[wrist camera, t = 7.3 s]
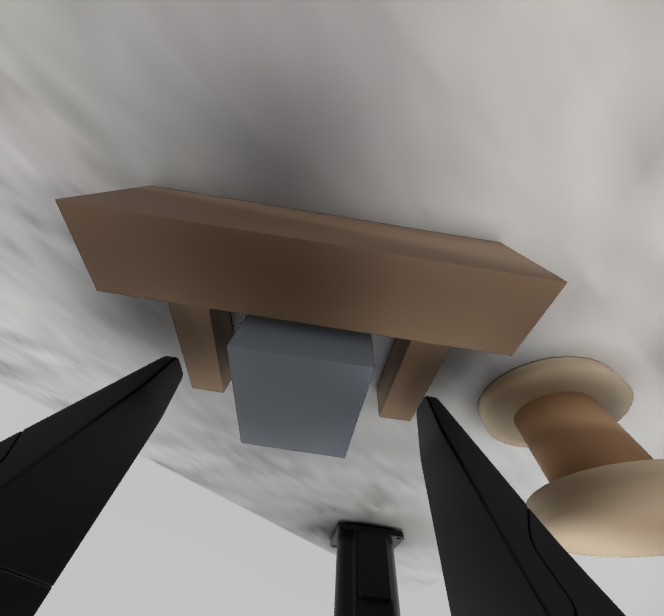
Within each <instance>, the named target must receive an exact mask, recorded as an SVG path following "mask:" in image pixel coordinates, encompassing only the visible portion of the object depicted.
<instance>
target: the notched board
mask: <svg viewBox="0 0 664 616" xmlns="http://www.w3.org/2000/svg"><path fill="white" fill-rule="evenodd" d="M55 201H56V203H57V205H58V207H59V209H60V211H61V214H62V216H63V218H64V220H65V222H66V224H67V227H68V229H69V231H70V233H71V235H72V237H73V240H74V242H75V244H76V246H77V248H78V250H79V253H80V255H81V257H82V259H83V261H84V263H85V266H86V268H87V270H88V272H89V274H90V276H91V279H92V281H93V283H94V285H95V287H96V289H97V291H102V292H109V293H115V294H121V295H128V296H134V297H140V298H147V299H153V300H159V301H166V302H168V304H169V308H170V311H171V315H172V318H173V322H174V325H175V329H176V332H177V336H178V339H179V343H180V346H181V350H182V353H183V357H184V360H185V364H186V368H187V371H188V375H189V378H190V382H191V385H192V388H196V389H203V390H209V391H216V392H222V393H224V391H225V389H226V387H227V386H228V384H229V382H230V380H231V378H232V377H231V370H230V364H229V357H228V350H227V345H228V343H229V342H230V340H231V339H232V337H233V333H232V325H231V316H230V312H236V313H242V314H248V315H255V316H261V317H268V318H274V319H280V320H287V321H293V322H299V323H306V324H312V325H318V326H325V327H331V328H337V329H344V330H350V331H357V332H363V333H369V334H376V335H382V336H388V337H395V338H396V340H395V343H394V345H393V348H392V351H391V353H390V356H389V359H388V361H387V364H386V367H385V369H384V372H383V375H382V377H381V380H380V383H379V385H378V388H377V400H378V410H379V417H385V418H392V419H398V420H405V421H410V420H411V419H412V417H413V415H414V413H415V411H416V410H417V408H418V406H419V404H420V402H421V401H422V399H423V397H424V395H425V393H426V392H427V390H428V388H429V386H430V384H431V383H432V381H433V379H434V377H435V375H436V374H437V372H438V370H439V368H440V366H441V365H442V363H443V361H444V359H445V357H446V356H447V354H448V352H449V350H450V348H451V347H458V348H465V349H471V350H477V351H484V352H490V353H496V354H503V355H509V356H512V355H513V353H514V352H515V351H516V349H517V348H518V347H519V345H520V344H521V343H522V341H523V340H524V339H525V338H526V336H527V335H528V334H529V332H530V331H531V330H532V328H533V327H534V326H535V324H536V323H537V322H538V320H539V319H540V318H541V317H542V315H543V314H544V313H545V311H546V310H547V309H548V307H549V306H550V305H551V303H552V302H553V301H554V299H555V298H556V297H557V296H558V294H559V293H560V292H561V290H562V289H563V288H564V286H565V285H566V284H567V282H566V281H565V280H563V279H561V278H560V277H558V276H556V275H555V274H553V273H551V272H549V271H548V270H546V269H544V268H543V267H541V266H539V265H538V264H536V263H534V262H532V261H531V260H529V259H527V258H526V257H524V256H522V255H521V254H519V253H517V252H515V251H514V250H512V249H510V248H509V247H507V246H505V245H504V244H502V243H499V242H492V241H486V240H480V239H474V238H468V237H462V236H455V235H449V234H443V233H437V232H431V231H425V230H419V229H412V228H406V227H400V226H394V225H388V224H382V223H375V222H369V221H363V220H357V219H351V218H345V217H339V216H332V215H326V214H320V213H314V212H308V211H302V210H296V209H289V208H283V207H277V206H271V205H265V204H259V203H252V202H246V201H240V200H234V199H228V198H222V197H216V196H209V195H203V194H197V193H191V192H185V191H179V190H172V189H166V188H160V187H154V186H145V187H138V188H131V189H124V190H117V191H110V192H104V193H97V194H90V195H83V196H76V197H69V198H62V199H55Z"/></svg>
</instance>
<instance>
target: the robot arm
mask: <svg viewBox="0 0 664 616" xmlns="http://www.w3.org/2000/svg"><path fill="white" fill-rule="evenodd" d="M182 376H183V372H182V368H181V365H180V362H179V359H178V358H176V357H171V356H164V357H162V358H160V359H158V360H156V361H154V362H152V363H150V364H148V365H147V366H145V367H143V368H141V369H139V370H137V371H135V372H133V373H131V374H129V375H127V376H126V377H124V378H122V379H120V380H118V381H116V382H114V383H112V384H110V385H108V386H106V387H105V388H103V389H101V390H99V391H97V392H95V393H93V394H91V395H89V396H87V397H85V398H84V399H82V400H80V401H78V402H76V403H74V404H72V405H70V406H68V407H66V408H64V409H62V410H61V411H59V412H57V413H55V414H53V415H51V416H49V417H47V418H45V419H43V420H42V421H40V422H38V423H36V424H34V425H32V426H30V427H28V428H26V429H25V430H24V431H23V432H19V433H16V434H15V435H13V436H11V437H9V438H7V439H5V440H3V441H1V442H0V616H34V615H35V613H36V611H37V610H38V608H39V607H40V605H41V604H42V602H43V601H44V599H45V598H46V596H47V594H48V593H49V591H50V590H51V588H52V587H51V586H53V585H54V583H55V582H56V580H57V579H58V577H59V576H60V574H61V572H62V571H63V569H64V568H65V566H66V564H67V563H68V562H69V560H70V559H71V557H72V556H73V554H74V552H75V551H76V549H77V548H78V546H79V545H80V543H81V542H82V540H83V539H84V537H85V535H86V534H87V532H88V531H89V529H90V528H91V526H92V525H93V523H94V522H95V520H96V518H97V517H98V515H99V514H100V512H101V511H102V509H103V508H104V506H105V505H106V503H107V501H108V500H109V498H110V497H111V495H112V494H113V492H114V491H115V489H116V488H117V486H118V485H119V483H120V482H121V480H122V478H123V477H124V475H125V474H126V472H127V471H128V469H129V468H130V466H131V465H132V463H133V462H134V460H135V458H136V457H137V455H138V454H139V452H140V451H141V449H142V448H143V446H144V445H145V443H146V442H147V440H148V438H149V437H150V435H151V434H152V432H153V431H154V429H155V428H156V426H157V424H158V423H159V421H160V420H161V418H162V416H163V414H164V412H165V410H166V409H167V407H168V405H169V403H170V401H171V399H172V397H173V395H174V393H175V391H176V389H177V387H178V385H179V383H180V381H181V379H182ZM417 425H418V436H419V447H420V457H421V463H422V469H423V474H424V479H425V484H426V489H427V494H428V499H429V504H430V510H431V515H432V520H433V525H434V530H435V535H436V540H437V545H438V550H439V555H440V560H441V566H442V571H443V576H444V581H445V586H446V591H447V596H448V601H449V606H450V611H451V616H625V614H624V613H623V612H622V611H621V610H620V609H619V608H618V607H617V606H616V605H615V604H614V603H613V602H612V600H611V599H610V598H609V597H608V596H607V595H606V594H605V593H604V592H603V591H602V590H601V589H600V588H599V587H598V585H597V584H596V583H595V582H594V581H593V580H592V579H591V578H590V577H589V576H588V575H587V573H586V572H585V571H584V570H583V569H582V568H581V567H580V566H579V565H578V564H577V563H576V561H575V560H574V559H573V558H572V557H571V556H570V555H569V554H568V552H567V551H566V550H565V549H564V548H563V547H562V546H561V545H560V543H559V542H558V541H557V540H556V539H555V538H554V536H553V535H552V534H551V533H550V532H549V531H548V530H547V528H546V527H545V526H544V525H543V524H542V523H541V521H540V520H539V519H538V518H537V517H536V515H535V514H534V513H533V512H532V511H531V509H530V508H527V505H526V504H525V502H524V501H523V500H522V499H521V498H520V496H519V495H518V494H517V493H516V492H515V490H514V489H513V488H512V487H511V486H510V484H509V483H508V482H507V481H506V480H505V478H504V477H503V476H502V475H501V474H500V472H499V471H498V470H497V469H496V468H495V466H494V465H493V464H492V463H491V462H490V461H489V459H488V458H487V457H486V456H485V455H484V453H483V452H482V451H481V450H480V449H479V447H478V446H477V445H476V444H475V443H474V441H473V440H472V439H471V438H470V437H469V435H468V434H467V433H466V432H465V431H464V429H463V428H462V427H461V426H460V425H459V423H458V422H457V421H456V420H455V419H454V417H453V416H452V415H451V414H450V413H449V412H448V410H447V409H446V408H445V407H444V406H443V404H442V403H441V402H440V401H439V400H438V399H437V398H435V397H429V396H425V397H424V398H423V400H422V402H421V404H420V405H419V407H418V409H417ZM403 539H404V535H403V532H400V531H394V530H387V529H381V528H374V527H367V526H360V525H354V524H347V523H339V524H338V525H337V527H336V530H335V532H334V534H333V536H332V539H331V542H330V546H331V547H334V548H337V561H336V584H335V585H336V586H335V608H334V610H335V611H334V616H400V608H399V599H398V588H397V579H396V569H395V559H394V548H395V547H396V546H397V545H398V544H399V543H400V542H401V541H402V540H403Z"/></svg>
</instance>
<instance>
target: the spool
mask: <svg viewBox="0 0 664 616" xmlns="http://www.w3.org/2000/svg"><path fill="white" fill-rule="evenodd" d="M632 402H633V392H632V389H631V387H630V386H629V385H628V384H627V383H626V382H625V381H624V380H623V379H621V378H620V377H619V376H618V375H617V374H615V373H614V372H613V371H612V370H611V369H609V368H608V367H607V366H606V365H604V364H602V363H600V362H597V361H595V360H591V359H586V358H579V357H559V358H551V359H545V360H540V361H536V362H533V363H529V364H526V365H523V366H521V367H518V368H516V369H514V370H512V371H510V372H508V373H506V374H504V375H503V376H501V377H500V378H498V379H497V380H495V381H494V382H493V383H492V384H491V385H490V386H489V387H488V388H487V389H486V390H485V391H484V393H483V394H482V396H481V398H480V400H479V404H478V411H479V415H480V417H481V419H482V421H483V423H484V425H485V427H486V429H487V431H488V432H489V434H490V435H491V436H492V437H494V438H495V439H497V440H498V441H500V442H503V443H505V444H509V445H513V446H518V447H527V448H529V449H530V451H531V452H532V454H533V456H534V457H535V459H536V461H537V462H538V464H539V466H540V467H541V469H542V471H543V472H544V474H545V476H546V477H547V479H548V481H549V482H550V483H548V484H546V485H545V486H543V487H541V488H540V489H538V490H537V491H535V492H534V493H533V494H532V495H531V496H530V497H529V499H528V500H527V502H526V505H527V508H530V509H531V511H532V512H533V513H534V514H535V515H536V517H537V518H538V519H539V520H540V521H541V523H542V524H543V525H544V526H545V527H546V528H547V530H548V531H549V532H550V533H551V534H552V535H553V536H554V538H555V539H556V540H557V541H558V542H559V543H560V545H561V546H562V547H563V548H564V549H565V550H566V551H567V552H568V553H573V554H579V555H586V556H596V557H621V558H623V557H625V558H627V557H653V556H664V459H655V460H654V459H653V458H652V457H651V456H650V455H649V454H648V453H647V452H646V451H645V450H644V449H643V448H642V447H641V446H640V445H639V444H638V443H637V442H636V441H635V440H634V439H633V438H632V437H631V436H630V435H629V434H628V433H627V432H626V431H625V430H624V429H623V428H622V427H621V426H620V425H619V424H618V423H617V422H618V421H619V420H620V419H621V418H622V417H623V416H624V415H625V414H626V413H627V412H628V410H629V409H630V407H631V405H632Z"/></svg>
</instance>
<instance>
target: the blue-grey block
mask: <svg viewBox="0 0 664 616" xmlns="http://www.w3.org/2000/svg"><path fill="white" fill-rule="evenodd" d="M227 350H228V357H229V364H230V370H231V377H232V384H233V391H234V398H235V404H236V411H237V418H238V425H239V431H240V438H241V443H246V444H253V445H260V446H266V447H273V448H280V449H287V450H293V451H300V452H307V453H314V454H321V455H327V456H334V457H341V458H345V456H346V453H347V450H348V447H349V444H350V441H351V438H352V435H353V432H354V429H355V426H356V423H357V420H358V417H359V414H360V411H361V408H362V405H363V402H364V399H365V396H366V393H367V390H368V387H369V384H370V381H371V378H372V375H373V372H374V369H375V365H374V355H373V345H372V335H371V334H369V333H363V332H357V331H350V330H344V329H337V328H331V327H325V326H318V325H312V324H306V323H299V322H293V321H287V320H280V319H274V318H268V317H261V316H255V315H247V316H246V318H245V319H244V321H243V322H242V324H241V325H240V327H239V328H238V330H237V331H236V333H235V334H234V336H233V337H232V339H231V340H230V342H229V343H228V345H227Z"/></svg>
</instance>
